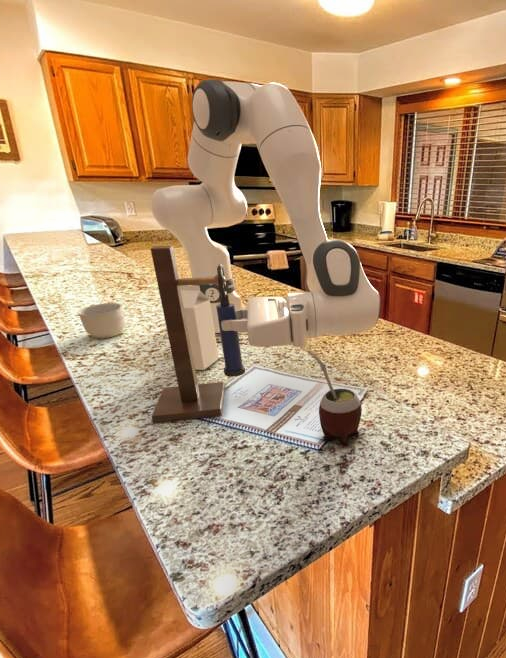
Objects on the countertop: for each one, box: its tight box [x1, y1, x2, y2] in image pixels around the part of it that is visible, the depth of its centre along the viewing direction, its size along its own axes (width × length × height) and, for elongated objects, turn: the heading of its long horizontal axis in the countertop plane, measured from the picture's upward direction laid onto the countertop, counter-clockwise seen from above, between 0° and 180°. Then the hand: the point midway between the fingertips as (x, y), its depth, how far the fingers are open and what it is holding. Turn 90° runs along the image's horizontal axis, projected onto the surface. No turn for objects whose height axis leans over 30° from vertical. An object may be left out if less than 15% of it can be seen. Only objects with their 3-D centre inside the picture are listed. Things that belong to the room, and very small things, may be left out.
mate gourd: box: [307, 349, 363, 448], centre depth 70 cm, size 8×8×15 cm
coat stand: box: [150, 245, 226, 424], centre depth 78 cm, size 12×16×30 cm
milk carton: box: [180, 285, 220, 371], centre depth 98 cm, size 7×7×19 cm
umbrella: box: [216, 264, 246, 378], centre depth 79 cm, size 6×4×21 cm, turn 13°
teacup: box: [77, 302, 126, 339], centre depth 122 cm, size 14×11×8 cm
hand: (222, 321), depth 79 cm, fingers closed on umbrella, 3 cm apart
